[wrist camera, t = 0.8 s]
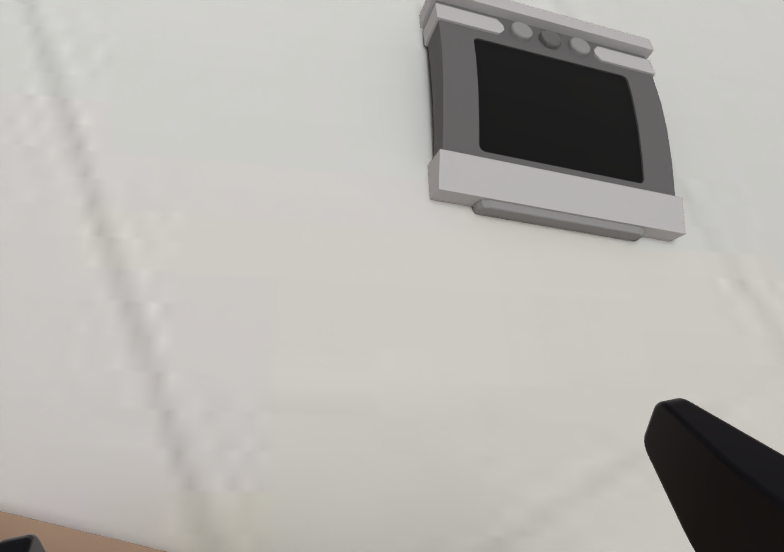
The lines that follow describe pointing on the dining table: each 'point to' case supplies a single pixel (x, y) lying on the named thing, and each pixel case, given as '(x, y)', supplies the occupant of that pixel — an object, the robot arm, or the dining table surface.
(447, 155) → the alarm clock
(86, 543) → the walnut stand
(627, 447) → the dining table surface
